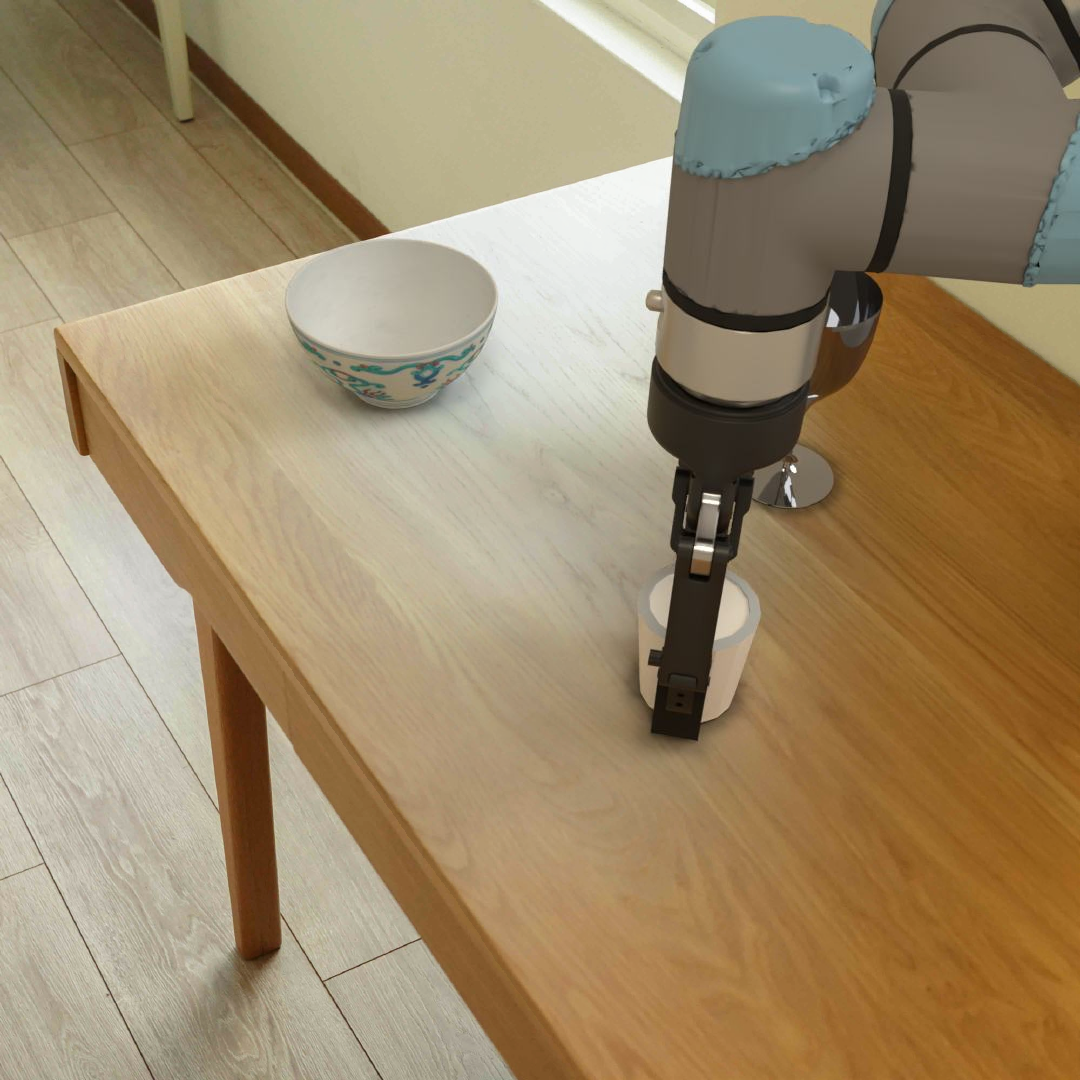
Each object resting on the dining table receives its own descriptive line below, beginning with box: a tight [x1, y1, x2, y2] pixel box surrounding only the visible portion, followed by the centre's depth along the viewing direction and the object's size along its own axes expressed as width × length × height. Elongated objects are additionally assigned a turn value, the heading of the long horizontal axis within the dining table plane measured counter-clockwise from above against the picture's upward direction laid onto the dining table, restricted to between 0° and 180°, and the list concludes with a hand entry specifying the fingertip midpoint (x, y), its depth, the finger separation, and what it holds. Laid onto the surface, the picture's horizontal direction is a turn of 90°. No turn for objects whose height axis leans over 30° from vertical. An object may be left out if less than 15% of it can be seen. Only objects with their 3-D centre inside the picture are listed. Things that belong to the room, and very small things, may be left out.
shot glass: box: [637, 564, 762, 724], centre depth 77 cm, size 7×7×7 cm
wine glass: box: [752, 270, 884, 509], centre depth 89 cm, size 8×8×15 cm
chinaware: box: [284, 238, 499, 410], centre depth 98 cm, size 15×15×8 cm
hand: (682, 682), depth 79 cm, fingers closed on shot glass, 7 cm apart
